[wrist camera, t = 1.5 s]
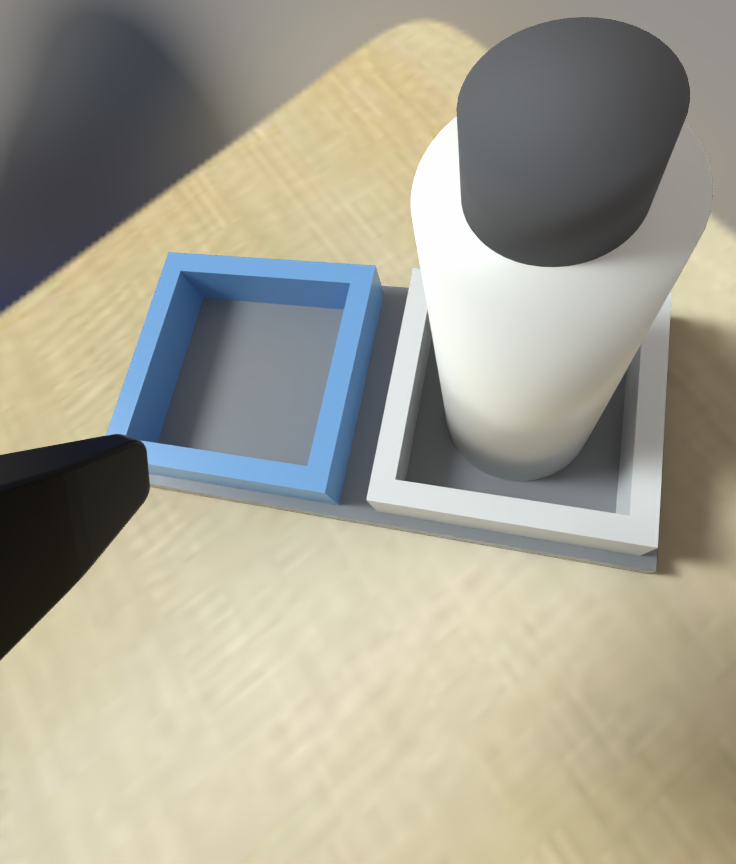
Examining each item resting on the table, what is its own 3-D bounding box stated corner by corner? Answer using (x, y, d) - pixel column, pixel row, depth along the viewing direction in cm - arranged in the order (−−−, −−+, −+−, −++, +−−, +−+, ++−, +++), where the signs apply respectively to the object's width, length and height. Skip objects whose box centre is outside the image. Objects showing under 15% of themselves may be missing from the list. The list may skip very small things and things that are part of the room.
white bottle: (544, 509, 19) (650, 305, 7) (419, 434, 21) (333, 165, 9) (619, 390, 20) (829, 25, 8) (493, 326, 22) (508, -56, 10)
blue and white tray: (664, 318, 21) (689, 275, 19) (649, 573, 19) (676, 565, 16) (192, 281, 26) (160, 243, 23) (127, 482, 23) (83, 464, 21)
